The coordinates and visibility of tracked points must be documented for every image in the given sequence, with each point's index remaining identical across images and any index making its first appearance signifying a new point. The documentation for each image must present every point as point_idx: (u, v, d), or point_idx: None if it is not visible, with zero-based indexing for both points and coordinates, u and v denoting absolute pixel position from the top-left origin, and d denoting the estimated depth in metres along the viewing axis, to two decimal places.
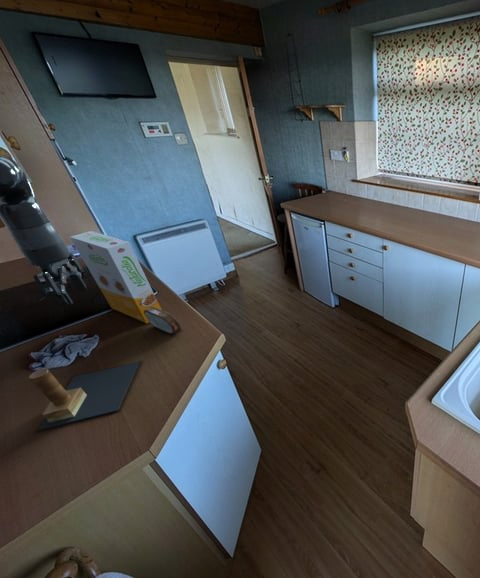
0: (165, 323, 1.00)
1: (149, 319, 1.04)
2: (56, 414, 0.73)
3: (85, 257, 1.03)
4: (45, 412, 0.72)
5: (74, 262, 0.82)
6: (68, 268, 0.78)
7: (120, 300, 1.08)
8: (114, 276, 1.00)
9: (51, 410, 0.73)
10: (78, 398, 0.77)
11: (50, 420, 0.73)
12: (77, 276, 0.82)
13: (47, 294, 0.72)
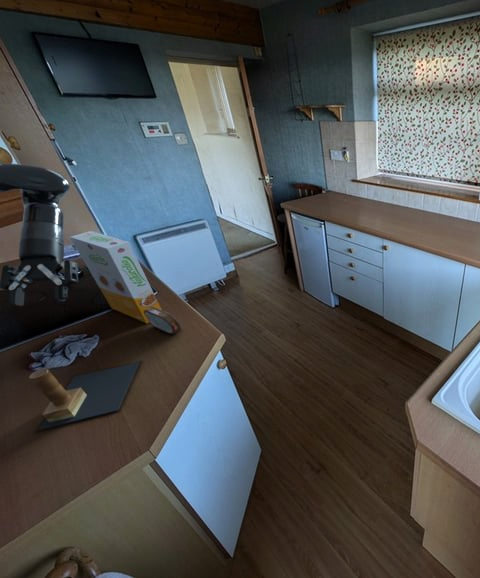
0: (165, 323, 1.00)
1: (149, 319, 1.04)
2: (56, 414, 0.73)
3: (85, 257, 1.03)
4: (45, 412, 0.72)
5: (16, 277, 0.74)
6: None
7: (120, 300, 1.08)
8: (114, 276, 1.00)
9: (51, 410, 0.73)
10: (78, 398, 0.77)
11: (50, 420, 0.73)
12: (23, 289, 0.73)
13: (71, 279, 0.75)
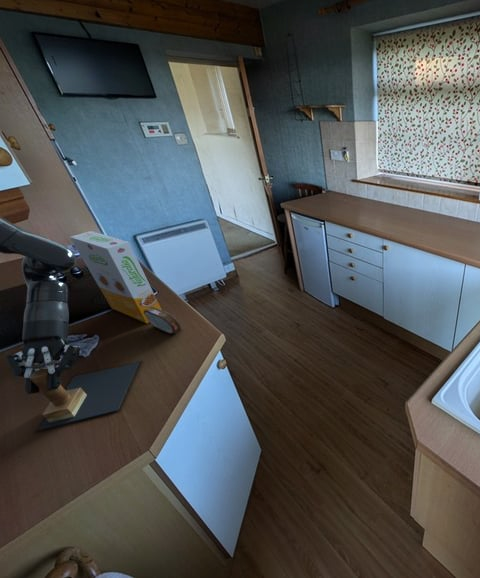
0: (165, 323, 1.00)
1: (149, 319, 1.04)
2: (56, 414, 0.73)
3: (84, 257, 1.03)
4: (45, 412, 0.72)
5: (24, 362, 0.72)
6: None
7: (120, 300, 1.08)
8: (114, 276, 1.00)
9: (51, 410, 0.73)
10: (78, 398, 0.77)
11: (50, 420, 0.73)
12: None
13: (65, 367, 0.72)
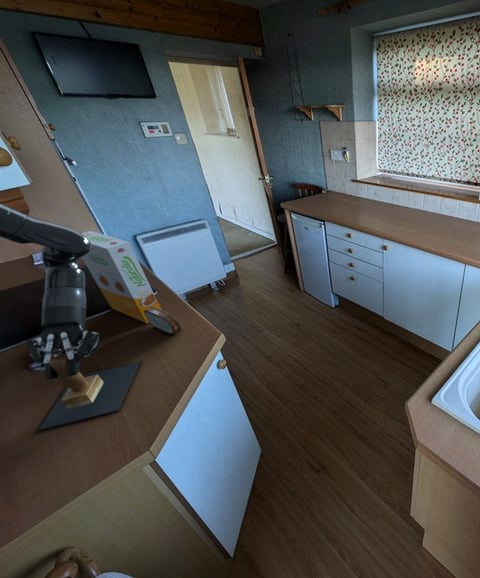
0: (165, 323, 1.00)
1: (149, 319, 1.04)
2: (75, 400, 0.73)
3: (84, 257, 1.03)
4: (64, 398, 0.72)
5: (43, 348, 0.72)
6: None
7: (120, 300, 1.08)
8: (114, 276, 1.00)
9: (70, 396, 0.73)
10: (96, 385, 0.77)
11: (69, 406, 0.73)
12: None
13: (83, 353, 0.72)
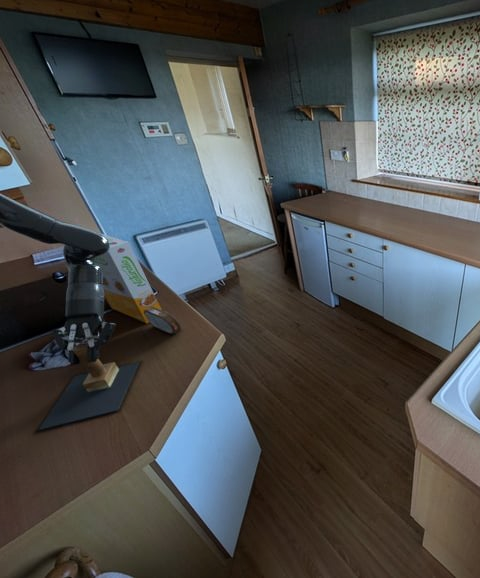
0: (165, 323, 1.00)
1: (149, 319, 1.04)
2: (94, 384, 0.81)
3: None
4: (85, 382, 0.80)
5: (66, 337, 0.80)
6: None
7: (120, 300, 1.08)
8: (114, 276, 1.00)
9: (90, 381, 0.81)
10: (112, 371, 0.85)
11: (89, 390, 0.81)
12: None
13: (103, 342, 0.80)
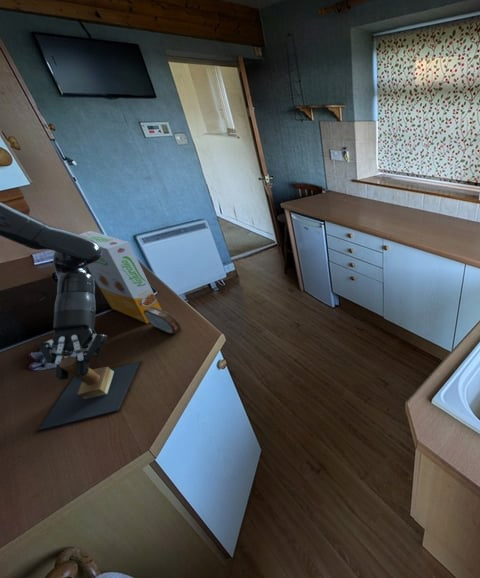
0: (165, 323, 1.00)
1: (149, 319, 1.04)
2: (90, 393, 0.78)
3: None
4: (80, 392, 0.78)
5: (54, 350, 0.75)
6: None
7: (120, 300, 1.08)
8: (114, 276, 1.00)
9: (85, 390, 0.78)
10: (107, 377, 0.82)
11: (85, 397, 0.79)
12: None
13: (93, 355, 0.75)
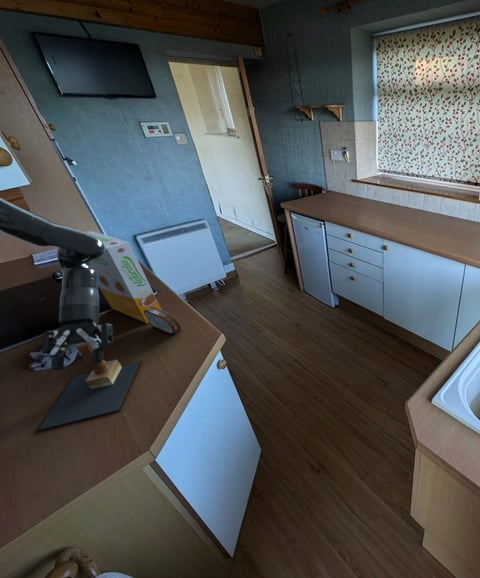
0: (165, 323, 1.00)
1: (149, 319, 1.04)
2: (97, 381, 0.82)
3: None
4: (88, 379, 0.81)
5: (55, 340, 0.77)
6: None
7: (120, 300, 1.08)
8: (114, 276, 1.00)
9: (93, 378, 0.81)
10: (115, 369, 0.86)
11: (92, 387, 0.82)
12: (62, 352, 0.77)
13: (108, 342, 0.78)
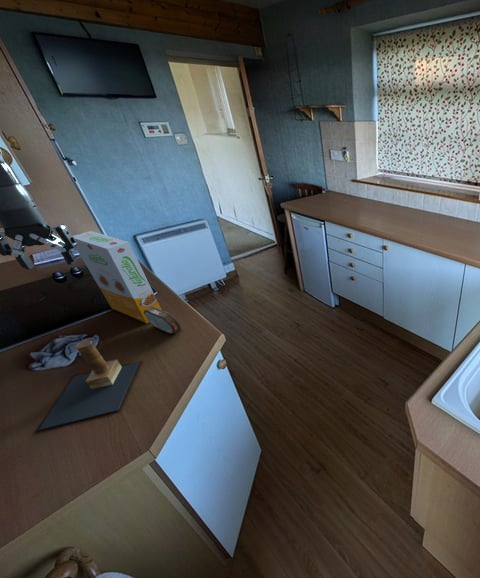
0: (165, 323, 1.00)
1: (149, 319, 1.04)
2: (97, 381, 0.82)
3: (84, 257, 1.03)
4: (88, 379, 0.81)
5: (5, 239, 0.72)
6: None
7: (120, 300, 1.08)
8: (114, 276, 1.00)
9: (93, 378, 0.81)
10: (115, 369, 0.86)
11: (92, 387, 0.82)
12: (23, 251, 0.75)
13: (73, 245, 0.76)
